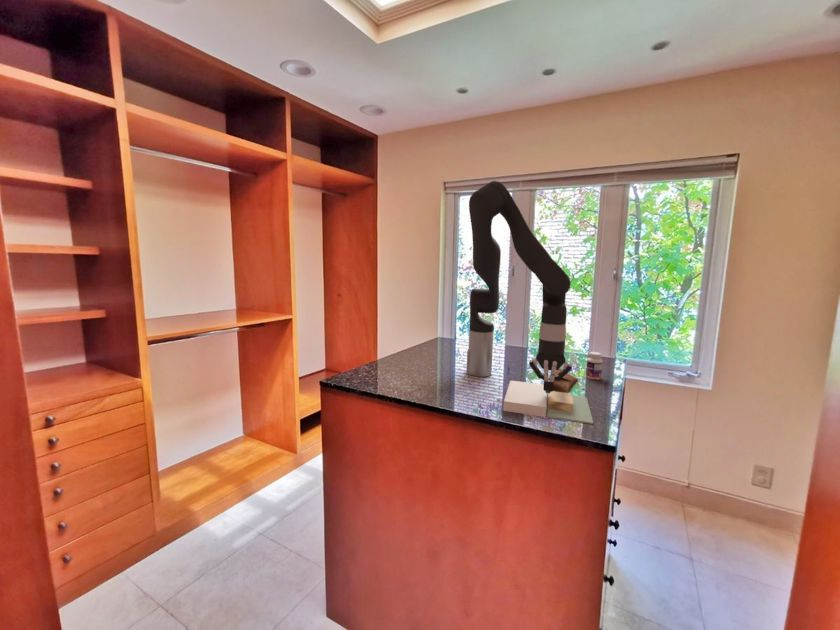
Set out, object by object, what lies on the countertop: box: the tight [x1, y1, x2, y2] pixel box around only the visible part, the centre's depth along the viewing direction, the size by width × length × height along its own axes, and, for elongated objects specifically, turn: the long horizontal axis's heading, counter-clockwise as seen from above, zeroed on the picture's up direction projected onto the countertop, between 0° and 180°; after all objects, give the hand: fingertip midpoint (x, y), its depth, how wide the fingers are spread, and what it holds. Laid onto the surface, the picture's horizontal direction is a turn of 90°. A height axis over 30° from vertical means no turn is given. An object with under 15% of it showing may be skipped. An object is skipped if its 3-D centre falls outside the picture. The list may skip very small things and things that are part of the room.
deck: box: [502, 380, 548, 418], centre depth 118 cm, size 12×20×3 cm, turn 161°
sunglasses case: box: [548, 368, 579, 393], centre depth 135 cm, size 18×7×7 cm, turn 148°
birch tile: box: [546, 390, 573, 412], centre depth 114 cm, size 7×9×2 cm
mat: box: [547, 395, 594, 425], centre depth 114 cm, size 12×20×1 cm, turn 161°
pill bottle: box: [585, 351, 604, 380], centre depth 142 cm, size 5×5×10 cm
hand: (548, 392), depth 115 cm, fingers closed
